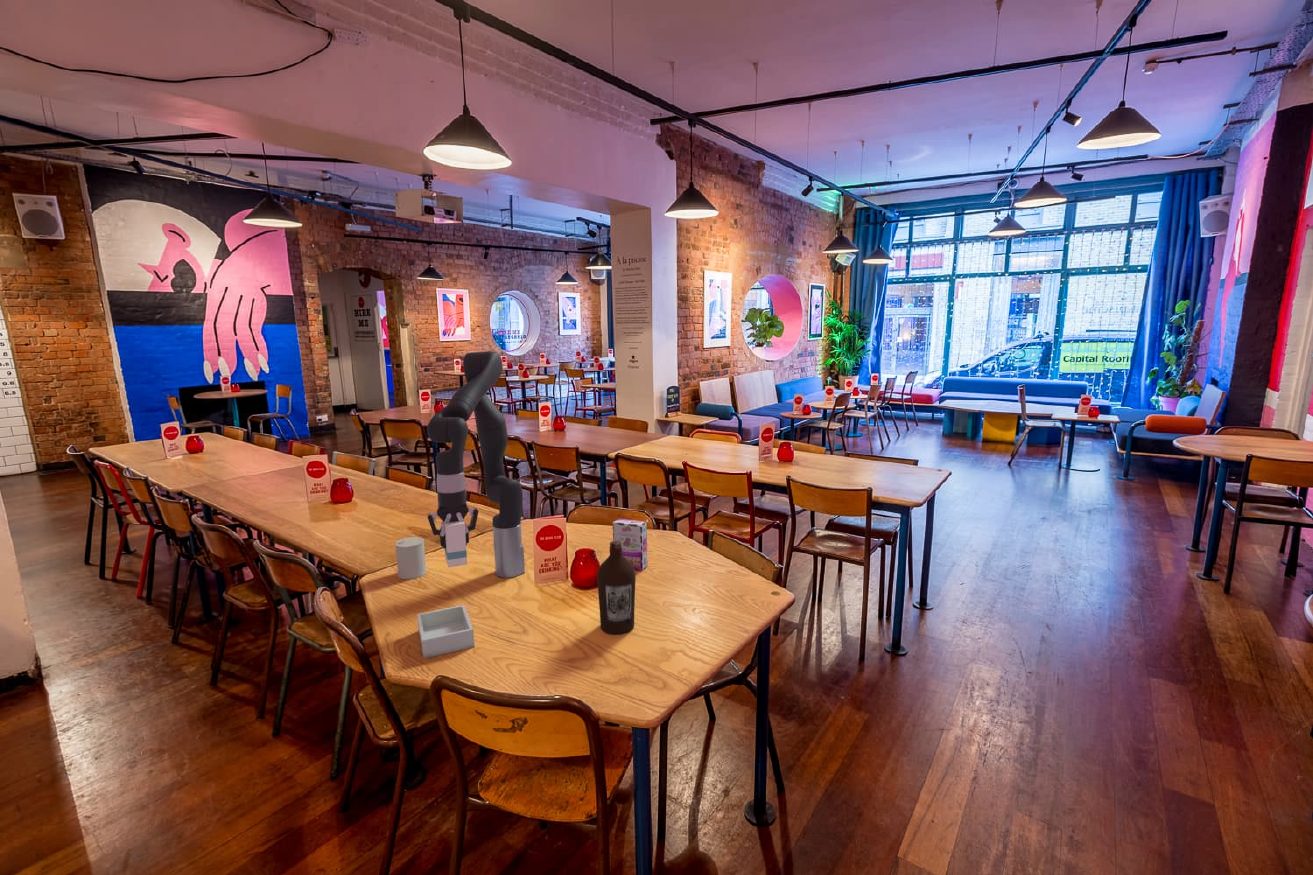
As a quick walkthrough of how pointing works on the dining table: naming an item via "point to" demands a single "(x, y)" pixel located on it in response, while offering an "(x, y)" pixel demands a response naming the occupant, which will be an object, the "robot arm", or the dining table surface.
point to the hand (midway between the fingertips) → (454, 545)
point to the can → (410, 558)
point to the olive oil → (616, 592)
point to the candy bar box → (632, 541)
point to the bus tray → (445, 631)
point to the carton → (455, 544)
